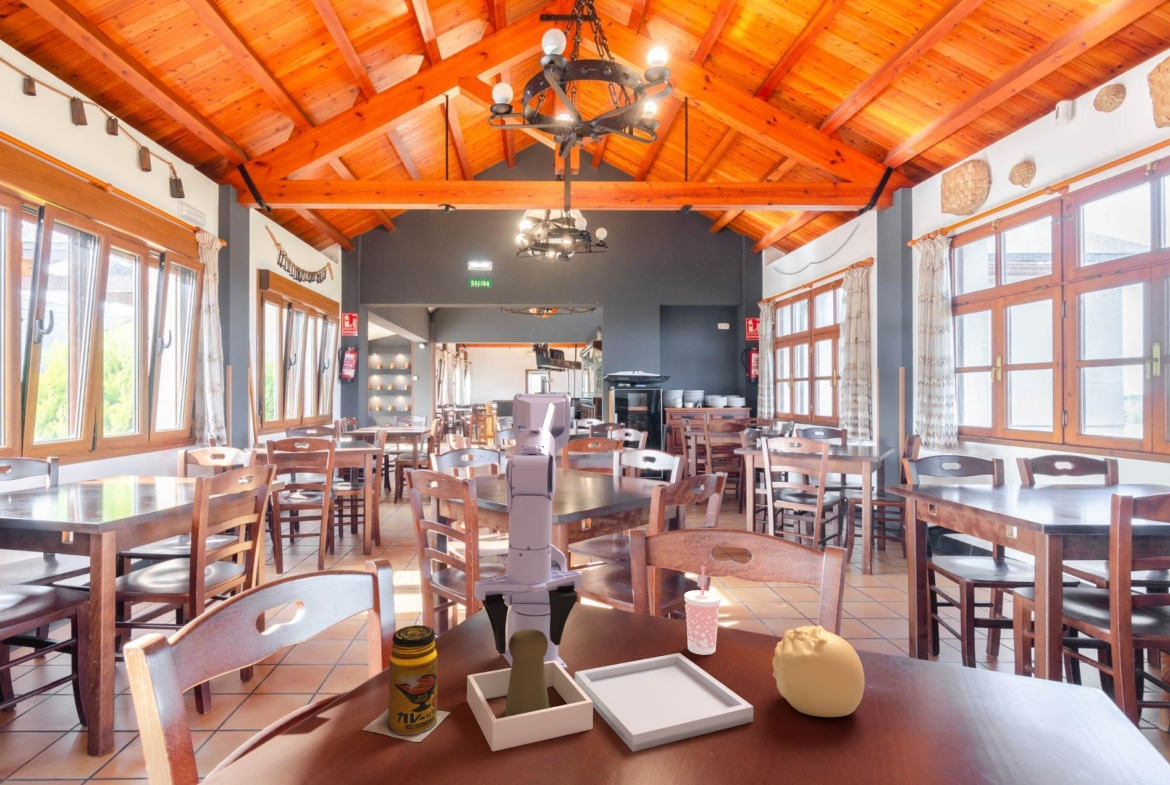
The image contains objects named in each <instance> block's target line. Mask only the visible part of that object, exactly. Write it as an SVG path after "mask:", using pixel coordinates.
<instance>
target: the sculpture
mask: <svg viewBox="0 0 1170 785" xmlns="http://www.w3.org/2000/svg"><path fill="white" fill-rule="evenodd" d="M773 650H774V656H773V657H772V667H773V673H772V676H773V677H774V678H773V679H775V680H776V688H777V689H778V692H779V694H780V696H782V697H783V698H784V699H785V700H786V701H787V702H788V704H789V705H790V706H791V707H792V708H793V709H795V710H796V711H798V712H799V713H802V714H805V715H807V716H808V715H809V716H812V717H821V718H839V717H840V718H841V717H846V716H849V715H851V714H852V713H853V712H854V711H856V709H857V708H858V706H859V705H860V704H861V701H862V699H863V695H864V692H865V691H864V690H865V683H866V682H865V681H866V680H865V672H864V667H863V664H862V661H861V659H860V657H859V655H858V653H857V652H856V650H855V648H854V647H853V646H852V645H851V644H850V643H849V642H848V641H846V640H845V639H844V638H842V637H841V636H839V635H837V634H835V633H833V632H830V631H827V630H826V629H825V628H824V627H823V626H822V625H807V626H806V625H803V626H799V627H795V628H793V629H792V628H791V629H787V630H784V632H783V636H782V639H781V641H778V642H777V643H776V647H775V648H774V649H773Z"/></svg>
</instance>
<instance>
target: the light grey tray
mask: <svg viewBox="0 0 1170 785" xmlns="http://www.w3.org/2000/svg"><path fill="white" fill-rule="evenodd" d="M574 681H575V682H576V683H577V684H578V685H579V687H580V688H581V689H582V690H583V691H584V692H585V693H586V694H587V695H588V697H589V698H590V699H591V700H592V701H593V709H595V711H596V712H597V713H598V714H599V715H600V716H601V718H603V720H604V721H605V722H606V723H607V725H609V726H610V728H612V730H613V731H614V732H615V734H616V735H618V737H620V739H621V740H622V741H623V742H624V743H625V744H626V746H627V747H628V748H629V749H630V750H631V751H632V752H638V751H641V750H645V749H649V748H653V747H657V746H661V745H665V744H670V743H673V742H678V741H681V740H684V739H688V738H689V739H690V738H693V737H696V736H701V735H706V734H708V733H709V734H710V733H714V732H717V731H721V730H725V729H729V728H733V727H737V726H742V725H745V724H746V725H747V724H750V723H753V722H754V706H753V705H752V704H750V703H749V702H748V701H747V700H745V699H743V698H742V697H741V696H739V694H736V693H735V692H734V691H733V690H731V689H730V688H728V687H727V686H726V685H724V684H723V683H722V682H720V681H719V680H717V679H716V678H714V677H713V676H712V675H710V674H709V673H708V672H707V671H705V670H704V669H702V668H701V667H700V666H698V665H697V664H696V663H694V662H693V661H692V660H690V659H689V658H687V657H686V656H684V655H683V654H682V653H680V652H678V653H672V654H671V653H670V654H666V655H661V656H656V657H650V658H649V657H648V658H644V659H639V660H634V661H627V662H621V663H617V664H612V665H611V664H610V665H606V666H605V665H604V666H599V667H594V668H590V669H589V668H588V669H583V670H578V671H575V672H574Z"/></svg>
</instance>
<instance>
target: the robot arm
mask: <svg viewBox="0 0 1170 785" xmlns="http://www.w3.org/2000/svg"><path fill="white" fill-rule="evenodd" d="M571 402H572V397H571V396H570V395H569V393H563V394H562V393H560V394H559V393H557V394H555V393H522V392H516V394H515V395H514V396H513V399H512V425H513V432H514V439H515V442H516V443H515V446H514V447H515V448H514V452H513V458H511V459H510V458H508V459H507V460H506V465H505V474H504V484H505V493H506V510H507V512H508V544H507V545H508V551H507V552H508V553H507V554H508V555H507V558H506V566H505V567H506V568H505V571H504V575H502V576H497V577H494V578H488V579H484V580H479V581H474V582H473V597H474V598H475V600H476V601H478V602H480V601H481V603H482V605H483V607H484V609H485V611H486V614H487V616H488V619H489V622H490V625H491V629H492V633H493V636H494V637H493V638H494V643H495V644H494V645H495V649H496V650H495V651H497V652H498V654H499V655H502V656H503V657H504V659H505V660H506V662H507V663H508V664H509V666H510V668H511V667H512V660H513V658H512V656H511V655H510V651H509V641H510V638H511V636H512V635H513V634H514V633H515V632H517V631H519V630H522V629H536V630H539V631H541V632H543V633H544V634H545V636H546V638H547V641H548V648H547V652H546V655H545V656H544V657H543V658H544V662H548V661H553V660H556V661H557V662H558V663H559V664H560V665H561V666H562V667H563V669H564V670H567V669H568V665H567V664H566V662H564V660H563V659H562V658H561V657H560V656H559V646H560V645H561V640H562V636H563V633H564V629H565V627H566V623H567V621H568V618H569V616H570V613H571V611H572V610H573V608H574V606H575V604H576V602H577V601H578V592H577V591H576V589H577V590H578V589H582V588H583V585H582V583H583V582H582V581H583V574H582V573H581V572H579V571H578V570H568V567H567V566H568V561H567V560H568V559H567V558H566V554H564V552H563V551H561V550H560V549H559V548H558V547H556V546H555V545H553V543H552V534H553V532H552V528H553V527H552V524H553V499H554V497H555V493H556V488H557V487H556V485H557V463H556V459H557V455H558V452H559V450H561V449H563V448H565V447H566V446H568V445H569V440H570V435H571V434H570V433H571V432H570V428H571V418H572V416H571V414H572V412H571V410H572V407H571V406H572V403H571ZM509 606H510V609H509ZM506 625H507V626H506ZM506 628H507V634H506ZM506 635H507V636H506ZM506 638H507V639H506ZM506 647H507V648H506Z"/></svg>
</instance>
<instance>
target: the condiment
mask: <svg viewBox="0 0 1170 785" xmlns="http://www.w3.org/2000/svg"><path fill="white" fill-rule="evenodd" d="M435 634H436V633H435V632H434V629H433V628H431V627H430V626H427V625H421V624H420V625H419V624H416V625H415V624H414V625H407V626H405V627H402V628H399V629H397V630H396V631H395V632H394V633H393V634H392V639H391V640H392V646H391V650H392V652H391V653H390V655H389V660H388V663H389V664H388V665H389V667H388V702H387V703H388V708H387V709H386V710H385V711H384V712H382V713H381V714H380V715H379V716H377V718H376V719H373V720H372V721H371V722H370V723H369V724H368V725H366V726H365V727H363V728H362V731H365V732H366V731H367V732H370V733H377V734H379V735H384V736H388V737H391V738H396V739H401V740H405V741H410V742H414V743H420V742H422V741H423V740H424V739H425V738H427V737H428V736H429V735H430V734H431V733H432V732H433V731H434V730H435V729H436V728H437V727H438V726H439V725H440V724H441V723H442V722H443V721H444V720H445V719H446V717H448V716H449V714H451V712H450V711H443V710H438V691H439V690H438V681H439V680H438V669H439V667H438V666H439V663H438V660H439V658H438V652H437V650H436V648H435V647H436V641H435V636H436V635H435Z"/></svg>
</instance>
